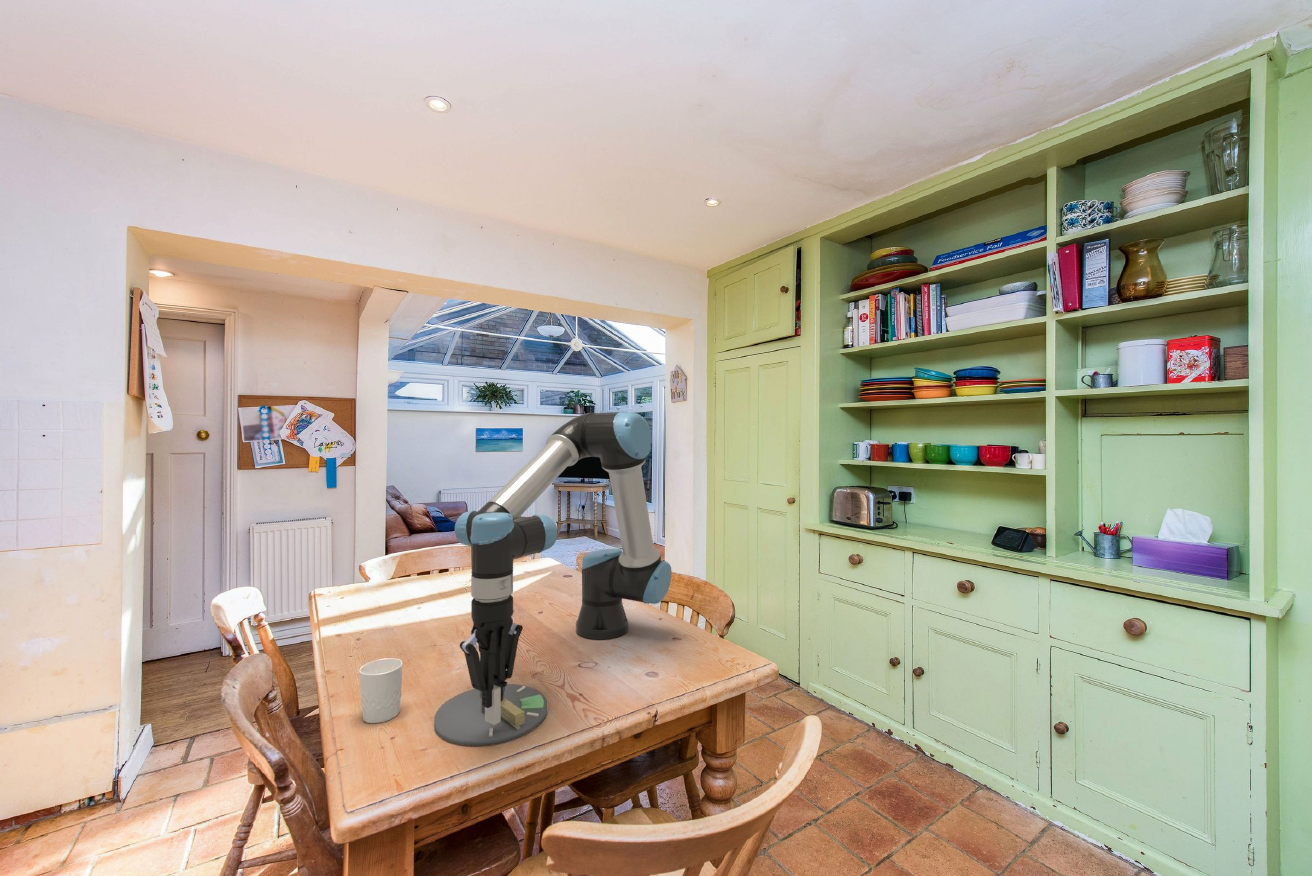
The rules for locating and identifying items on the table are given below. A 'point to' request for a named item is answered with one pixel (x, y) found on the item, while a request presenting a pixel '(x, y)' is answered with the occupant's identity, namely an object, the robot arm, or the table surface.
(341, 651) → the table surface
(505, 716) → the needle
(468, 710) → the dial
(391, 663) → the white cup
